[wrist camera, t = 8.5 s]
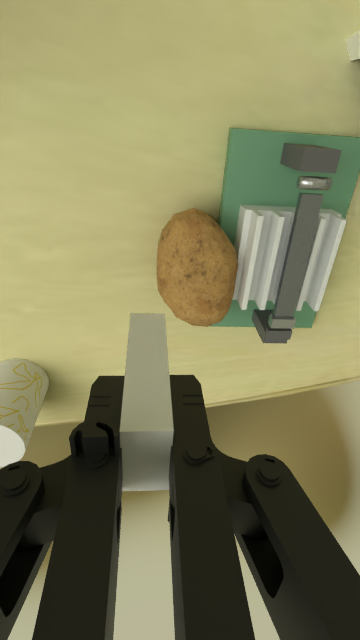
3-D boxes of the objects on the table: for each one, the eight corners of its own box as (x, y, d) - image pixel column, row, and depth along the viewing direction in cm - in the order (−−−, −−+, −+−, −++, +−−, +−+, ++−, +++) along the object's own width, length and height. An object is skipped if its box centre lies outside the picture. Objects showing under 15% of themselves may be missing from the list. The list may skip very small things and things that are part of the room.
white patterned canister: (58, 374, 52) (36, 439, 42) (34, 407, 55) (7, 474, 45) (6, 349, 49) (-32, 412, 39) (-17, 385, 52) (-58, 452, 42)
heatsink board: (229, 127, 37) (247, 131, 30) (362, 137, 38) (407, 142, 32) (206, 320, 49) (215, 353, 42) (307, 322, 50) (331, 354, 44)
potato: (225, 191, 40) (240, 207, 33) (234, 297, 47) (248, 328, 40) (143, 206, 40) (141, 225, 33) (164, 309, 48) (166, 342, 41)
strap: (298, 174, 34) (303, 176, 32) (327, 176, 34) (334, 178, 33) (266, 322, 42) (270, 328, 41) (290, 322, 42) (294, 328, 41)
